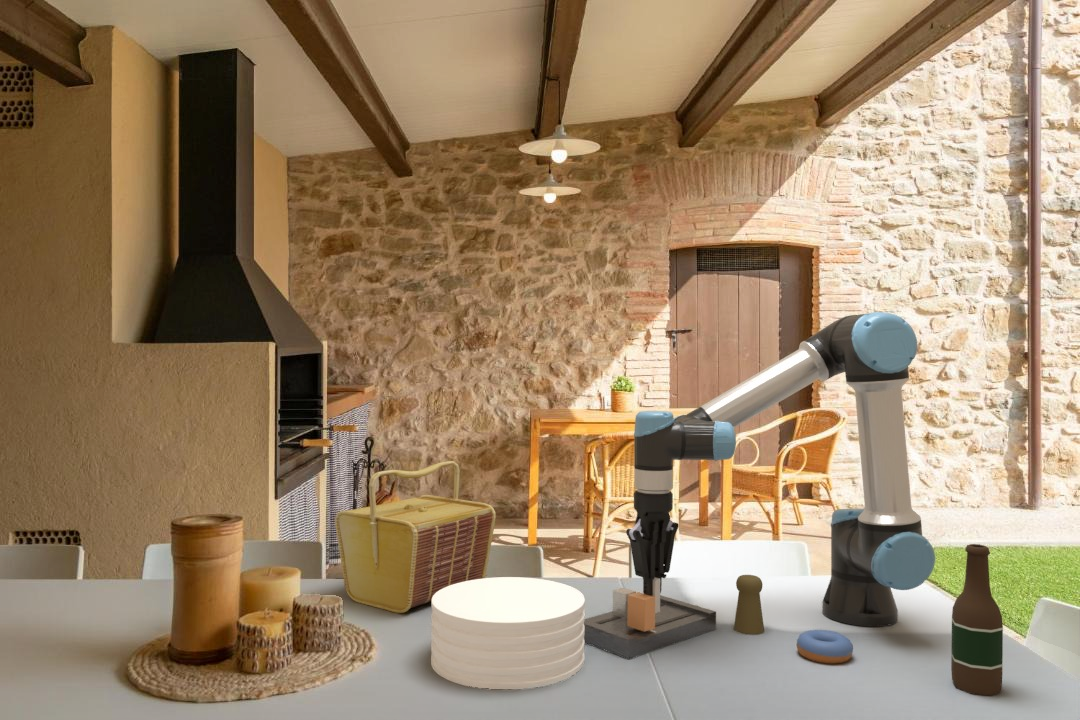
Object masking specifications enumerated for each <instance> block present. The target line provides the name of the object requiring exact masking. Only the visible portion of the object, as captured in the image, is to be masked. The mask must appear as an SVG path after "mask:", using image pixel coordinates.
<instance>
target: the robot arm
mask: <svg viewBox="0 0 1080 720" xmlns="http://www.w3.org/2000/svg"><path fill="white" fill-rule="evenodd" d="M916 335H917V334H916V333H915V330H914V329H913V327H912V326H911V325H910V323H909V322H908V321H906V320H905V319H904V318H903V317H901V316H900V315H897V314H894V313H890V312H882V311H881V312H880V311H878V312H876V311H874V312H869V313H862V314H861V313H859V314H852V315H851V314H850V315H845V316H843V317H841V318H839V319H837V320H835V321H833V322H832V323H830V324H828V325H827V326H825V327H824V328H822V329H820V330H819V331H816V332H815V334H813V335H812V336H810V337H807V339H805V340H803V341H801V342H800V344H799V347H798V349H797V350H795V351H793V352H791V353H790V354H789V355H786V356H785V357H783V358H782V359H779V360H778V361H776V362H774V363H773V364H771V365H770V366H768V367H766V368H765V369H763V370H761V371H759V372H758V373H757V372H756V373H755V374H754V375H752V376H750V377H749V378H747V379H745V380H743V381H742V382H740V383H738V384H736V385H735V386H734V387H732V388H730V389H728V390H726V391H724V392H723V393H721V394H719V395H718V396H716V397H714V398H712V399H711V400H709V401H708V402H706V403H704V404H703V405H701V406H699V407H698V408H695V409H694V410H692V411H690V412H687V414H680V415H677V416H675V417H674V413H673V412H671V411H667V410H641V411H639V412H638V413H636V415H635V418H634V419H635V420H634V421H635V422H634V431H633V432H634V433H633V436H634V438H633V439H634V442H633V443H634V447H633V449H634V452H633V453H634V455H633V456H634V463H633V465H634V466H633V467H634V468H633V469H634V477H633V479H634V481H633V483H634V484H633V487H634V488H635V489H636V490H635V491H634V492H633V509H634V510H635V511H636V517H635V525H634V526H633V527H632V528H627V529H626V535H627V538H628V539H629V543H630V549H631V556H632V561H633V567H634V568H633V569H634V573H635V575H636V576H637V577H640V578H642V580H643V581H642V583H643V586H642V588H643V589H642V590H643V591H642V593H643V594H646V595H650V596H653V597H655V613H658V612H660V595H661V593H662V585H663V584H662V579H666V578H667V574H668V573H669V572H670V569H671V563H672V557H673V550H674V545H675V544H674V543H675V537H676V534H677V532H678V529H679V526H680V525H679V523H678V522H673V520H672V519H671V515H670V512H672V511H673V505H674V502H673V501H674V500H673V499H674V498H673V496H674V495H673V494H674V493H673V492H672V491H671V490H673V488H674V461H675V460H676V461H682V460H687V461H688V460H689V461H690V460H692V461H693V460H694V461H695V460H696V461H715V462H717V461H722V460H724V461H725V460H730V459H732V458H733V457H734V454H735V452H736V444H737V440H736V439H737V437H736V431H735V428H737V427H738V426H740V425H742V424H743V423H746V422H747V421H749V420H751V419H752V418H754V417H756V416H758V415H759V414H761V413H763V412H764V411H766V410H768V409H770V408H771V407H773V406H775V405H776V404H778V403H780V402H782V401H783V400H786V399H787V398H789V397H791V396H792V395H793V394H795V393H797V392H799V391H800V390H802V389H804V388H806V387H808V386H810V385H812V384H813V383H815V382H816V381H821V382H822V381H823V382H826V381H827V380H830V379H831V378H832V377H835V376H837V375H840V374H842V373H843V374H844V373H845V382H846V385H848V386H849V387H850V388H852V389H853V391H854V393H855V394H854V395H855V405H856V406H855V407H856V419H857V431H858V442H859V451H860V452H859V454H860V465H861V466H860V467H861V476H862V489H863V501H864V508H840V509H839V508H838V509H835V510H834V511H833V512H832V515H831V523H830V530H831V532H830V534H831V535H830V539H831V540H830V542H831V543H830V544H831V545H830V547H831V548H830V553H831V555H830V561H831V563H830V566H831V568H830V570H831V571H830V572H831V573H830V580H829V583H828V586H827V588H826V590H825V594H824V597H823V599H822V606H821V608H822V609H821V611H822V614H823V615H824V616H825V617H827V618H828V619H831V620H833V621H836V622H839V623H843V624H848V625H854V626H861V627H887V626H890V625H893V624H894V625H895V624H896V623H897V622H898V619H899V615H898V613H899V612H898V607H897V604H896V602H895V597H894V595H893V591H892V589H893V590H896V591H907V590H908V591H909V590H913V589H915V588H918V587H919V586H921V585H922V584H924V583H925V581H926V580H927V579H928V578H929V577H930V576H931V574H932V573H933V571H934V568H935V564H936V553H935V550H934V547H933V545H932V543H930V542H929V540H928V539H927V537H925V536H924V535H923V529H922V528H923V527H922V526H923V525H922V518H921V515H920V514H918V512H916V511H915V510H914V509H913V508H912V507H913V506H912V500H911V499H912V498H911V488H910V475H909V474H910V473H909V465H908V464H909V462H908V451H907V440H906V439H907V438H906V426H905V415H904V403H903V401H904V400H903V391H902V389H903V387H904V385H905V384H907V382H908V381H909V380H910V375H909V366H910V365H911V363H912V362H913V360H914V359H915V358H916V355H917V351H918V340H917V336H916ZM665 573H667V574H665Z"/></svg>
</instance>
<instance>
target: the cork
mask: <svg viewBox="0 0 1080 720" xmlns="http://www.w3.org/2000/svg"><path fill="white" fill-rule="evenodd" d="M735 584H736V585H735V586H736V589H737V590H738V596H737V602H736V611H735V618H734V626H733V630H734V631H736V633H740V634H743V635H750V636H751V635H752V636H755V635H761V634H764V632H765V626H764V619H763V611H762V610H763V609H762V602H761V592H762V589H763V581H762V579H761V578H760V577H759V576H757V575H752V574H742V575H739V576H738V577H737V579H736V582H735Z"/></svg>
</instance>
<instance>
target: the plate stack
mask: <svg viewBox="0 0 1080 720" xmlns="http://www.w3.org/2000/svg"><path fill="white" fill-rule="evenodd" d="M430 603H431V607H430V608H431V610H432V611H431V617H430V619H431V629H430V630H431V631H430V633H431V634H430V636H431V642H430V645H431V646H430V650H431V656H430V664H431V667H432V669H433V670H434V672H435V673H436V674H437V675H439V676H440V677H442V678H444V679H445V680H448V681H450V682H452V683H454V684H458V685H460V686H461V685H462V686H465V687H469V686H470V687H469V688H475V687H478V688H477V689H481V688H489V689H488V690H491V689H521V688H528V687H536V686H540V685H545V684H550V683H553V682H557V681H560V680H563V679H565V678H567V677H570V676H571V675H573V674H575V673H576V672H577V671H579V670H580V669H581V668H582V669H583V667H584V665H583V664H585V644H586V643H585V641H584V635H585V626H584V621H585V619H586V617H585V616H586V615H585V607H586V600H585V595H584V594H583V593H582V592H581V591H580V590H579V589H577V588H575V587H573V586H570V585H568V584H564V583H561V582H558V581H553V580H549V579H542V578H534V577H523V576H522V577H519V576H515V577H514V576H501V577H500V576H499V577H485V578H483V579H475V580H469V581H464V582H460V583H456V584H453V585H450V586H447V587H445V588H443V589H441V590H439V591H438V592H436V593H435V594H434V595H433V597H432V601H430ZM582 666H583V667H582ZM582 669H581V670H582ZM581 670H580V671H581ZM580 671H579V672H580ZM575 675H576V674H575ZM570 678H571V677H570ZM471 686H472V687H471ZM521 690H522V689H521Z"/></svg>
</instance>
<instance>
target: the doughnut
mask: <svg viewBox="0 0 1080 720" xmlns="http://www.w3.org/2000/svg"><path fill="white" fill-rule="evenodd" d="M796 649H797V650H798V652H799V654H800V655H801V656H802V657H804V658H806V659H808V660H809V661H812V662H817V663H820V664H829V665H830V664H831V665H832V664H835V665H836V664H841V663H845V662H848V661H849V660H850V659H851V658H852V655H853V651H854V645H853V643H852V641H851V639H850V638H849V637H847V636H846V635H843V634H842V633H839V632H836V631H834V630H833V631H832V630H825V629H810V630H806V631H804V632H802V633H800V634H799V636H798V638H797V639H796Z"/></svg>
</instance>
